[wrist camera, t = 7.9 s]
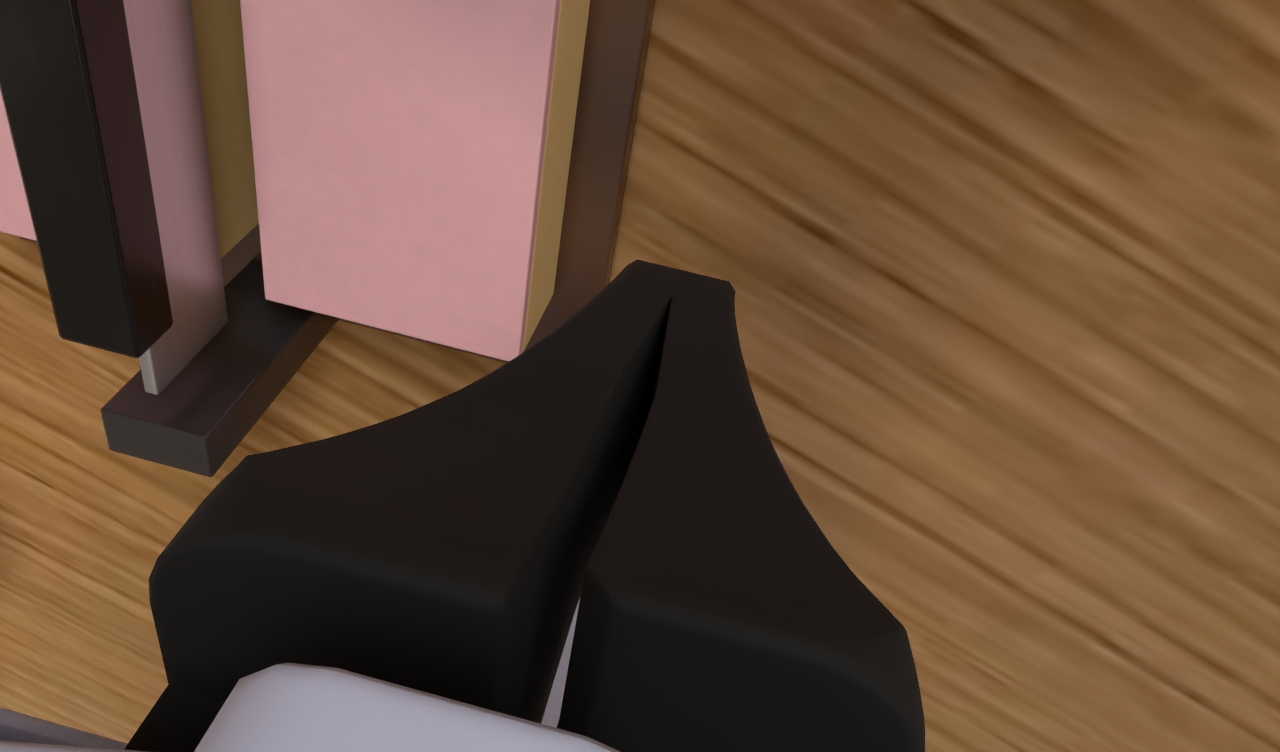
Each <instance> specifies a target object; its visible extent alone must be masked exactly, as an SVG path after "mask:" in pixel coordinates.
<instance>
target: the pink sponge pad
mask: <svg viewBox="0 0 1280 752" xmlns="http://www.w3.org/2000/svg"><path fill="white" fill-rule="evenodd" d="M191 3H192V11H193V20H194V29H195V38H196V46H197V55H198V64H199V73H200V82H201V90H202V99H203V108H204V117H205V125H206V134H207V143H208V152H209V160H210V169H211V178H212V187H213V196H214V204H215V213H216V222H217V231H218V239H219V248H220V257H221V259H222V258H223V257H224V256H225V255H226V254H227V253H228V252H229V251H230V250H231V249H232V248H233V247H234V246H235V245H236V244H238V243H239V242H240V241H241V240H242V239H243V238H244V237H245V236H246V235H247V234H248V233H249V232H250V231H251V230H252V229H253V228H254V227H256V226H257V225H258V224H259V232H260V243H261V255H262V267H263V279H264V291H265V299H266V300H270V301H274V302H278V303H282V304H286V305H290V306H293V307H297V308H301V309H305V310H309V311H313V312H317V313H321V314H325V315H329V316H333V317H337V318H340V319H344V320H348V321H352V322H356V323H360V324H364V325H368V326H372V327H376V328H380V329H383V330H387V331H391V332H395V333H399V334H403V335H407V336H411V337H415V338H419V339H423V340H427V341H430V342H434V343H438V344H442V345H446V346H450V347H454V348H458V349H462V350H466V351H470V352H473V353H477V354H481V355H485V356H489V357H493V358H497V359H501V360H505V361H511V360H513V359H514V358H516V357H517V356H519V355H520V354H521V353H523V351H524V350H525V348H526V346H527V344H528V342H529V340H530V338H531V336H532V334H533V333H534V331H535V329H536V327H537V325H538V323H539V321H540V319H541V317H542V315H543V313H544V311H545V309H546V307H547V305H548V303H549V301H550V300H551V298H552V296H553V294H554V286H555V278H556V270H557V262H558V254H559V246H560V238H561V230H562V222H563V214H564V206H565V198H566V190H567V182H568V174H569V166H570V158H571V150H572V142H573V134H574V126H575V118H576V110H577V102H578V94H579V86H580V78H581V70H582V62H583V54H584V46H585V38H586V30H587V22H588V14H589V6H590V0H191ZM0 232H4V233H8V234H12V235H16V236H20V237H23V238H27V239H31V240H35V241H37V240H36V235H35V231H34V227H33V223H32V219H31V215H30V211H29V206H28V202H27V198H26V194H25V190H24V186H23V182H22V177H21V173H20V169H19V165H18V161H17V157H16V153H15V148H14V144H13V140H12V136H11V132H10V128H9V124H8V119H7V115H6V111H5V107H4V103H3V99H2V95H1V90H0Z"/></svg>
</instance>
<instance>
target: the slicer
mask: <svg viewBox="0 0 1280 752" xmlns="http://www.w3.org/2000/svg"><path fill="white" fill-rule="evenodd" d="M655 1H656V0H590V6H589V14H588V22H587V30H586V38H585V46H584V54H583V62H582V70H581V78H580V86H579V94H578V102H577V110H576V118H575V126H574V134H573V142H572V150H571V158H570V166H569V174H568V182H567V190H566V198H565V206H564V214H563V222H562V230H561V238H560V246H559V254H558V262H557V270H556V278H555V286H554V294H553V296H552V298H551V300H550V301H549V303H548V305H547V307H546V309H545V311H544V313H543V315H542V317H541V319H540V321H539V323H538V325H537V327H536V329H535V331H534V333H533V334H532V336H531V338H530V340H529V342H528V344H527V346H526V348H525V350H524V351H526V350H527V349H529V348H530V347H531V346H533V345H534V344H536V343H537V342H539V341H540V340H542V339H543V338H544V337H546V336H547V335H549V334H550V333H551V332H553V331H554V330H555V329H557V328H558V327H559V326H560V325H562V324H563V323H564V322H565V321H567V320H568V319H569V318H570V317H572V316H573V315H574V314H575V313H576V312H578V311H579V310H580V309H581V308H583V307H584V306H585V305H586V304H587V303H589V302H590V301H591V300H592V299H593V298H594V297H595V296H596V295H598V294H599V293H600V292H601V291H602V290H603V289H604V288H605V287H606V286H607V285H608V284H609V281H610V274H611V268H612V262H613V256H614V250H615V244H616V238H617V232H618V226H619V220H620V214H621V207H622V201H623V195H624V189H625V183H626V177H627V171H628V165H629V159H630V153H631V147H632V141H633V134H634V128H635V122H636V116H637V110H638V104H639V98H640V92H641V86H642V80H643V74H644V68H645V61H646V55H647V49H648V43H649V37H650V31H651V25H652V19H653V13H654V7H655ZM19 237H20V236H19ZM20 238H21V239H25V240H28V241H32V242H36V243H37V241H35V240H31V239H27V238H23V237H20ZM221 266H222V275H223V283H224V292H225V301H226V310H227V318H228V322H227V323H226V324H225V325H224V326H223V328H222V329H221V330H220V331H219V332H218V333H217V334H216V335H215V336H214V337H213V338H212V339H211V340H210V341H209V342H208V343H207V344H206V345H205V346H204V347H203V348H202V350H201V351H200V352H199V353H198V354H197V355H196V356H195V357H194V358H193V359H192V360H191V361H190V362H189V363H188V364H187V365H186V366H185V367H184V368H183V369H182V370H181V371H180V373H179V374H178V375H177V376H176V377H175V378H174V379H173V380H172V381H171V382H170V383H169V384H168V385H167V386H166V387H165V388H164V389H163V390H162V391H161V392H160V393H159V394H158V395H155V394H151V393H147V392H145V389H144V383H143V378H142V372H141V370H140V371H139V372H138V373H137V374H136V375H135V376H134V377H133V378H132V379H131V380H130V381H129V382H128V383H127V384H126V385H125V386H124V387H123V388H122V389H121V390H120V391H119V392H118V393H117V394H116V395H115V396H114V397H113V398H112V399H111V400H110V401H109V402H108V403H107V404H106V405H105V406H103V407H102V409H101V415H102V419H103V424H104V428H105V433H106V437H107V442H108V446H109V449H110V450H111V451H115V452H119V453H122V454H126V455H130V456H133V457H137V458H141V459H145V460H148V461H152V462H156V463H160V464H163V465H167V466H171V467H174V468H178V469H182V470H186V471H189V472H193V473H197V474H200V475H204V476H208V477H212V476H213V475H214V474H215V473H216V472H217V470H218V469H219V468H220V467H221V465H222V464H223V463H224V462H225V460H226V459H227V458H228V457H229V455H230V454H231V453H232V452H233V450H234V449H235V448H236V447H237V445H238V444H239V443H240V442H241V440H242V439H243V438H244V437H245V435H246V434H247V433H248V432H249V430H250V429H251V428H252V427H253V425H254V424H255V423H256V422H257V420H258V419H259V418H260V417H261V415H262V414H263V413H264V412H265V410H266V409H267V408H268V407H269V406H270V404H271V403H272V402H273V401H274V399H275V398H276V397H277V396H278V394H279V393H280V392H281V391H282V389H283V388H284V387H285V386H286V384H287V383H288V382H289V381H290V379H291V378H292V377H293V376H294V374H295V373H296V372H297V371H298V369H299V368H300V367H301V366H302V364H303V363H304V362H305V361H306V359H307V358H308V357H309V356H310V354H311V353H312V352H313V351H314V349H315V348H316V347H317V346H318V344H319V343H320V342H321V341H322V339H323V338H324V337H325V336H326V334H327V333H328V332H329V331H330V329H331V328H332V327H333V326H334V324H335V323H336V322H337V321H338V320H341V321H345V322H349V323H353V324H357V325H361V326H365V327H369V328H373V329H377V330H380V331H384V332H388V333H392V334H396V335H400V336H404V337H408V338H412V339H416V340H420V341H423V342H427V343H431V344H435V345H439V346H443V347H447V348H451V349H455V350H459V351H463V352H467V353H470V354H474V355H478V356H482V357H486V358H490V359H494V360H498V361H502V362H506V363H508V362H509V361H505V360H501V359H497V358H493V357H489V356H485V355H481V354H477V353H473V352H470V351H466V350H462V349H458V348H454V347H450V346H446V345H442V344H438V343H434V342H430V341H427V340H423V339H419V338H415V337H411V336H407V335H403V334H399V333H395V332H391V331H387V330H383V329H380V328H376V327H372V326H368V325H364V324H360V323H356V322H352V321H348V320H344V319H340V318H337V317H333V316H329V315H325V314H321V313H317V312H313V311H309V310H305V309H301V308H297V307H293V306H290V305H286V304H282V303H278V302H274V301H270V300H266V299H265V291H264V279H263V267H262V255H261V243H260V232H259V224H258V225H257V226H256V227H254V228H253V229H252V230H251V231H250V232H249V233H248V234H247V235H246V236H245V237H244V238H243V239H242V240H241V241H240V242H239V243H238V244H236V245H235V246H234V247H233V248H232V249H231V250H230V251H229V252H228V253H227V254H226V255H225V256H224V257H223V258H222V259H221ZM524 351H523V352H524Z"/></svg>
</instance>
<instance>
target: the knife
mask: <svg viewBox="0 0 1280 752" xmlns="http://www.w3.org/2000/svg"><path fill="white" fill-rule="evenodd" d="M0 90H1V95H2V99H3V103H4V107H5V111H6V115H7V119H8V124H9V128H10V132H11V136H12V140H13V144H14V148H15V153H16V157H17V161H18V165H19V169H20V173H21V177H22V182H23V186H24V190H25V194H26V198H27V202H28V206H29V211H30V215H31V219H32V223H33V227H34V231H35V235H36V240H37V244H38V248H39V252H40V256H41V260H42V264H43V269H44V273H45V277H46V281H47V285H48V289H49V293H50V298H51V302H52V306H53V310H54V314H55V318H56V322H57V327H58V331H59V335H60V337H61V338H63V339H65V340H69V341H73V342H77V343H81V344H84V345H88V346H92V347H96V348H100V349H103V350H107V351H111V352H115V353H119V354H123V355H126V356H130V357H134V358H139V362H140V367H141V372H142V378H143V383H144V389H145V392H147V393H151V394H155V395H158V394H159V393H160V392H161V391H162V390H163V389H164V388H165V387H166V386H167V385H168V384H169V383H170V382H171V381H172V380H173V379H174V378H175V377H176V376H177V375H178V374H179V373H180V371H181V370H182V369H183V368H184V367H185V366H186V365H187V364H188V363H189V362H190V361H191V360H192V359H193V358H194V357H195V356H196V355H197V354H198V353H199V352H200V351H201V350H202V348H203V347H204V346H205V345H206V344H207V343H208V342H209V341H210V340H211V339H212V338H213V337H214V336H215V335H216V334H217V333H218V332H219V331H220V330H221V329H222V328H223V326H224V325H225V324H226V323H227V322H228V318H227V310H226V301H225V292H224V283H223V275H222V266H221V257H220V248H219V239H218V231H217V222H216V213H215V204H214V196H213V187H212V178H211V169H210V160H209V152H208V143H207V134H206V125H205V117H204V108H203V99H202V90H201V82H200V73H199V64H198V55H197V46H196V38H195V29H194V20H193V11H192V3H191V0H0Z"/></svg>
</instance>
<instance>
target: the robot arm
mask: <svg viewBox="0 0 1280 752" xmlns="http://www.w3.org/2000/svg"><path fill="white" fill-rule="evenodd" d="M734 298H735V290H734V288H733V287H732V285H731V284H730V282H729V281H725V280H720V279H716V278H712V277H708V276H704V275H699V274H695V273H691V272H687V271H683V270H679V269H674V268H670V267H666V266H662V265H658V264H653V263H649V262H645V261H641V260H636V261H634V262H632V263H630V264H629V265H627V266H626V267H625V268H624V269H623V270H622V272H621V273H620V274H619V275H618V276H617V277H616V278H615V279H614V280H613V281H612V282H610V283H609V284H608V285H607V286H606V287H605V288H604V289H603V290H602V291H601V292H600V293H599V294H598V295H596V296H595V297H594V298H593V299H592V300H591V301H590V302H589V303H587V304H586V305H585V306H584V307H583V308H581V309H580V310H579V311H578V312H576V313H575V314H574V315H573V316H572V317H570V318H569V319H568V320H567V321H565V322H564V323H563V324H562V325H560V326H559V327H558V328H557V329H555V330H554V331H553V332H551V333H550V334H549V335H547V336H546V337H544V338H543V339H542V340H540V341H539V342H537V343H536V344H534V345H533V346H531V347H530V348H529V349H527V350H526V351H524V352H523V353H521V354H520V355H519V356H517V357H516V358H514V359H513V360H511V361H509V362H508V363H506V364H505V365H503V366H501V367H500V368H498V369H497V370H495V371H493V372H491V373H490V374H488V375H486V376H485V377H483V378H481V379H479V380H477V381H475V382H474V383H472V384H470V385H468V386H466V387H464V388H462V389H460V390H458V391H456V392H454V393H452V394H450V395H448V396H445V397H443V398H441V399H438V400H436V401H434V402H431V403H429V404H427V405H424V406H422V407H420V408H417V409H415V410H413V411H410V412H408V413H406V414H403V415H400V416H398V417H395V418H392V419H389V420H386V421H383V422H380V423H377V424H374V425H372V426H368V427H365V428H362V429H358V430H355V431H352V432H348V433H345V434H342V435H338V436H335V437H331V438H327V439H323V440H319V441H315V442H310V443H306V444H301V445H297V446H292V447H288V448H283V449H279V450H274V451H270V452H265V453H260V454H254V455H249V456H246V457H245V458H244V459H243V460H242V461H241V463H240V464H239V465H238V466H237V467H236V468H235V469H234V470H233V471H232V472H231V473H230V474H229V475H227V476H226V477H225V478H224V479H223V480H222V481H221V482H220V483H219V484H218V485H217V486H216V487H215V488H214V490H213V491H212V492H211V493H210V494H209V495H208V496H207V497H206V498H205V499H204V501H203V502H202V503H201V504H200V505H199V507H198V508H197V509H196V510H195V512H194V513H193V514H192V515H191V517H190V518H189V519H188V520H187V522H186V523H185V524H184V526H183V527H182V528H181V529H180V531H179V532H178V533H177V534H176V536H175V537H174V538H173V539H172V541H171V542H170V543H169V545H168V546H167V547H166V548H165V550H164V551H163V552H162V553H161V555H160V556H159V557H158V559H157V561H156V563H155V566H154V568H153V570H152V573H151V575H150V577H149V593H150V605H151V609H152V614H153V618H154V622H155V627H156V631H157V636H158V640H159V644H160V649H161V653H162V657H163V662H164V666H165V671H166V675H167V679H168V683H169V685H168V686H167V688H166V689H165V691H164V692H163V693H162V695H161V696H160V698H159V699H158V701H157V702H156V704H155V705H154V707H153V708H152V709H151V711H150V712H149V714H148V715H147V717H146V718H145V720H144V721H143V723H142V724H141V725H140V727H139V728H138V730H137V731H136V733H135V734H134V736H133V737H132V739H131V740H130V741H129V743H128V744H126V743H123V742H119V741H116V740H112V739H109V738H105V737H102V736H98V735H95V734H91V733H88V732H84V731H81V730H77V729H74V728H70V727H67V726H63V725H60V724H56V723H53V722H49V721H46V720H42V719H38V718H35V717H31V716H28V715H24V714H21V713H17V712H14V711H10V710H7V709H3V708H0V752H925V725H924V714H923V708H922V701H921V695H920V689H919V683H918V678H917V673H916V668H915V664H914V659H913V655H912V651H911V647H910V643H909V639H908V636H907V632H906V630H905V628H904V626H903V625H902V624H901V623H900V622H899V621H898V620H897V619H896V618H895V617H894V616H893V615H892V614H891V613H890V612H889V611H888V610H887V608H886V607H885V606H884V605H883V604H882V603H881V602H880V601H879V600H878V599H877V598H876V597H875V596H874V595H873V594H872V593H871V592H870V591H869V590H868V589H867V588H866V586H865V585H864V584H863V583H862V582H861V581H860V580H859V579H858V578H857V577H856V576H855V575H854V573H853V572H852V571H851V570H850V569H849V567H848V566H847V565H846V564H845V562H844V561H843V560H842V559H841V557H840V556H839V555H838V554H837V552H836V551H835V550H834V549H833V547H832V546H831V544H830V543H829V541H828V540H827V538H826V537H825V535H824V534H823V532H822V531H821V529H820V528H819V527H818V525H817V524H816V522H815V521H814V519H813V518H812V516H811V515H810V513H809V512H808V510H807V509H806V507H805V506H804V504H803V502H802V501H801V499H800V497H799V495H798V494H797V492H796V490H795V488H794V486H793V485H792V483H791V481H790V479H789V477H788V476H787V474H786V472H785V470H784V468H783V466H782V464H781V462H780V460H779V458H778V456H777V454H776V452H775V449H774V447H773V445H772V443H771V440H770V438H769V436H768V433H767V431H766V428H765V426H764V423H763V421H762V418H761V415H760V412H759V410H758V407H757V404H756V402H755V399H754V395H753V392H752V389H751V386H750V383H749V379H748V375H747V372H746V368H745V364H744V360H743V357H742V353H741V348H740V343H739V338H738V332H737V326H736V319H735V307H734Z"/></svg>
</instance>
